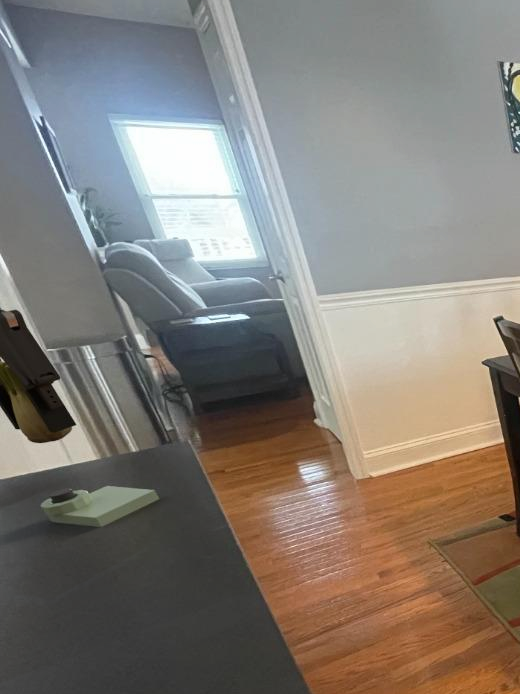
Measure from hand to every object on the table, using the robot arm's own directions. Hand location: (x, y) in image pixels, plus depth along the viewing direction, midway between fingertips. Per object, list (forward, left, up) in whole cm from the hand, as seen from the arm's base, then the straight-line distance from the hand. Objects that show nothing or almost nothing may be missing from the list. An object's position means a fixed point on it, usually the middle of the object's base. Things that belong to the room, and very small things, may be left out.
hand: (46, 426), depth 88 cm
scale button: (-12, +3, -15) cm, 20 cm away
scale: (-9, +5, -18) cm, 21 cm away
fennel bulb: (0, 0, -2) cm, 2 cm away
